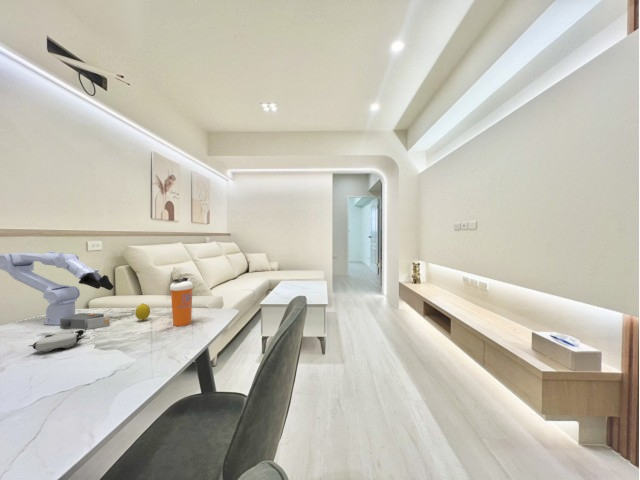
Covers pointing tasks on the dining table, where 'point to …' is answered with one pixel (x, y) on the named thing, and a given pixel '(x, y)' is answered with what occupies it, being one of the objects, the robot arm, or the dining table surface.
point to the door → (97, 322)
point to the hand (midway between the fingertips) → (106, 287)
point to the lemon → (142, 311)
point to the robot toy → (58, 340)
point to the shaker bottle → (181, 301)
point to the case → (78, 320)
